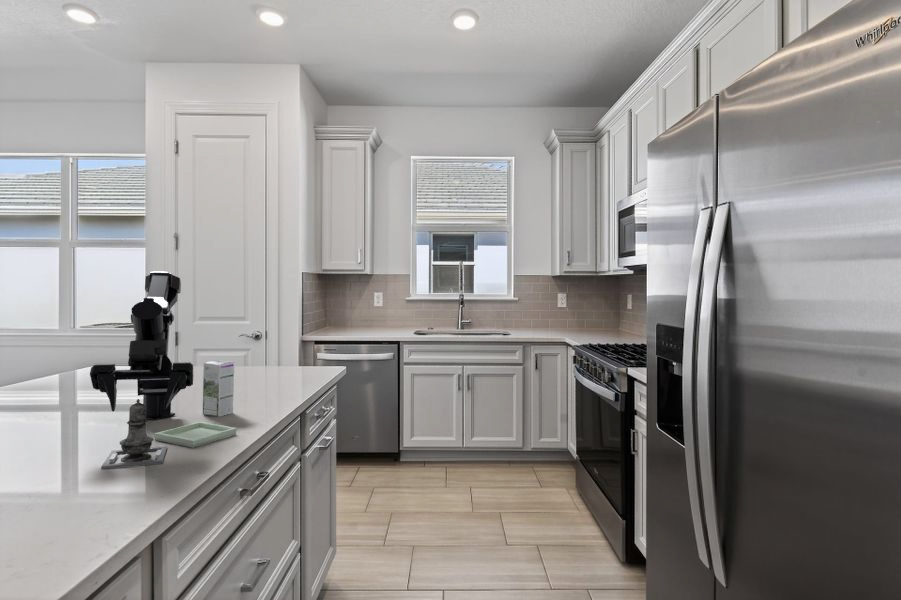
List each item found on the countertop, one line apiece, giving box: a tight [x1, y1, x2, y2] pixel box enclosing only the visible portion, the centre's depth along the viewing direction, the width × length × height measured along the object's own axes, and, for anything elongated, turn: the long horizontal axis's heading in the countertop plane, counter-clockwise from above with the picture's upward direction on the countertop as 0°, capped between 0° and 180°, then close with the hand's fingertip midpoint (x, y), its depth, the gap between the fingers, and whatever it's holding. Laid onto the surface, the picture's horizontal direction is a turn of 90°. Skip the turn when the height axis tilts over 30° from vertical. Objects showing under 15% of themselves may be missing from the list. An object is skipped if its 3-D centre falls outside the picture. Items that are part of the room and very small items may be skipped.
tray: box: [154, 421, 237, 448], centre depth 116 cm, size 12×12×2 cm
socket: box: [100, 445, 168, 470], centre depth 101 cm, size 10×10×1 cm
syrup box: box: [202, 360, 235, 418], centre depth 138 cm, size 6×6×14 cm
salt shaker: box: [119, 398, 155, 463], centre depth 101 cm, size 6×6×12 cm
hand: (139, 408), depth 103 cm, fingers open, 9 cm apart
